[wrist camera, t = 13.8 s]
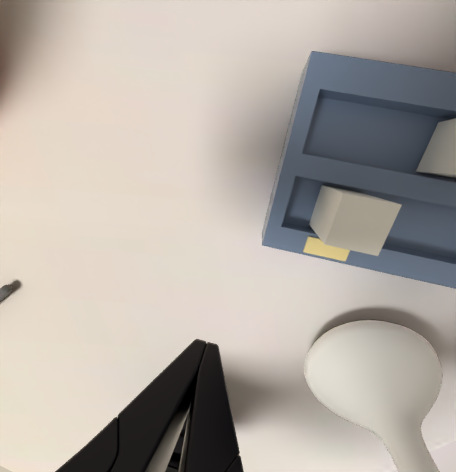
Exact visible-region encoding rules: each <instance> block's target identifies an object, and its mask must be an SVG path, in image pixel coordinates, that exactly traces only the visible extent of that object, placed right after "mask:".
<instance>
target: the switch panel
mask: <svg viewBox="0 0 456 472" xmlns="http://www.w3.org/2000/svg"><path fill="white" fill-rule="evenodd" d="M455 118H456V73H454V72H448V71H441V70H434V69H428V68H421V67H415V66H408V65H401V64H395V63H388V62H382V61H375V60H368V59H362V58H355V57H349V56H342V55H335V54H329V53H322V52H316V51H312V52H311V54H310V56H309V58H308V61H307V63H306V65H305V67H304V69H303V72H302V75H301V79H300V83H299V87H298V91H297V95H296V99H295V103H294V107H293V111H292V115H291V119H290V123H289V127H288V131H287V135H286V139H285V143H284V147H283V151H282V155H281V159H280V163H279V167H278V171H277V175H276V179H275V183H274V187H273V191H272V195H271V199H270V203H269V207H268V211H267V215H266V219H265V223H264V227H263V231H262V245H263V246H268V247H272V248H277V249H281V250H285V251H290V252H294V253H299V254H303V255H308V256H312V257H317V258H321V259H326V260H330V261H335V262H339V263H344V264H348V265H353V266H357V267H362V268H366V269H370V270H375V271H379V272H384V273H388V274H393V275H397V276H402V277H406V278H411V279H415V280H420V281H424V282H429V283H433V284H438V285H442V286H446V287H451V288H455V289H456V179H452V178H447V177H442V176H436V175H431V174H426V173H420V172H416V170H417V168H418V165H419V163H420V161H421V159H422V157H423V155H424V153H425V150H426V148H427V146H428V144H429V142H430V140H431V137H432V135H433V133H434V131H435V129H436V127H437V124H438V122H442V121H446V120H451V119H455ZM322 185H324V186H329V187H334V188H340V189H345V190H350V191H355V192H360V193H365V194H368V195H371V196H375V197H378V198H381V199H385V200H388V201H391V202H394V203H398V204H401V205H402V206H401V208H400V210H399V212H398V214H397V217H396V219H395V221H394V223H393V225H392V227H391V229H390V232H389V234H388V236H387V238H386V240H385V242H384V244H383V247H382V249H381V251H380V253H379V255H378V256H375V255H370V254H366V253H361V252H356V251H352V250H347V249H343V248H338V247H334V246H329V245H325V244H324V243H323V242H322V240H321V239H320V238H319V237H318V235H317V234H316V233H315V231H314V230H313V229H312V227H311V226H310V225H309V223H310V220H311V217H312V214H313V210H314V207H315V204H316V201H317V198H318V195H319V192H320V189H321V186H322Z"/></svg>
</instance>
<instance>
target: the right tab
mask: <svg viewBox="0 0 456 472" xmlns="http://www.w3.org/2000/svg"><path fill="white" fill-rule="evenodd" d="M416 172H420V173H426V174H431V175H436V176H442V177H447V178H452V179H456V118H455V119H451V120H446V121H442V122H438V124H437V127H436V129H435V131H434V133H433V135H432V137H431V140H430V142H429V144H428V146H427V148H426V150H425V153H424V155H423V157H422V159H421V161H420V163H419V165H418V168H417V170H416Z"/></svg>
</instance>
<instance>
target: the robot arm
mask: <svg viewBox="0 0 456 472" xmlns="http://www.w3.org/2000/svg"><path fill="white" fill-rule="evenodd" d="M239 453H240V452H239V447H238V442H237V437H236V432H235V427H234V422H233V417H232V412H231V407H230V402H229V397H228V392H227V387H226V382H225V377H224V372H223V367H222V362H221V357H220V352H219V347H218V345H217V344H214V343H210V342H208V343H206V341H203V340H199V339H196V340H194V341H193V342H192V343H191V344H190V345H189V346H188V347H187V348H186V349H185V350H184V351H183V352H182V353H181V354H180V355H179V356H178V357H177V358H176V359H175V360H174V361H173V362H172V363H171V364H170V365H169V366H168V367H167V368H166V369H165V370H163V371H162V372H161V373H160V374H159V375H158V376H157V377H156V378H155V379H154V380H153V381H152V382H151V383H150V384H149V385H148V386H147V387H146V388H145V389H144V390H143V391H142V392H141V393H140V394H139V395H138V396H137V397H136V398H135V399H134V400H133V401H132V402H131V403H130V404H129V405H128V406H127V407H126V408H125V409H123V410H122V411H121V412H120V413H119V414H118V418H117V417H115V418H114V419H113V420H112V421H111V422H110V423H109V424H108V425H107V426H106V427H105V428H104V429H103V430H102V431H101V432H100V433H98V434H97V435H96V436H95V437H94V438H93V439H92V440H91V441H90V442H89V443H88V444H87V445H86V446H84V447H83V448H82V449H81V450H80V451H79V452H78V453H76V454H75V455H74V456H73V457H72V458H71V459H69V460H68V461H67V462H66V463H65V464H64V465H62V466H61V467H60V468H59V469H58V470H57V471H55V472H244V471H243V466H242V461H241V457H240V456H239Z"/></svg>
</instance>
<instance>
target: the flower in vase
mask: <svg viewBox="0 0 456 472" xmlns="http://www.w3.org/2000/svg"><path fill="white" fill-rule="evenodd" d="M304 375H305V379H306V382H307V384H308V386H309V388H310V389H311V391H312V392H313V394H314V395H315V397H316V398H317V399H318V400H319V401H320V403H321V404H323V405H324V406H325V407H326V408H328V409H329V410H331V411H332V412H334V413H335V414H337V415H338V416H340V417H342V418H344V419H346V420H348V421H350V422H352V423H354V424H356V425H359V426H361V427H363V428H366V429H368V430H370V431H372V432H373V433H374V434H376V435H377V436H378V437H379V438H380V439H381V441H382V442H383V443H384V445H385V446H386V448H387V450H388V451H389V453H390V455H391V457H392V459H393V461H394V463H395V465H396V467H397V469H398V471H399V472H440V471H439V470H438V468H437V467H436V465H435V463H434V461H433V459H432V457H431V455H430V453H429V451H428V450H427V447H426V445H425V442H424V440H423V437H422V433H421V424H422V421H423V419H424V418H425V416H426V415H427V413H428V412H429V411H430V409H431V407H432V406H433V404H434V402H435V401H436V399H437V397H438V394H439V390H440V387H441V383H442V368H441V365H440V362H439V359H438V356H437V354H436V352H435V350H434V348H433V347H432V346H431V344H430V343H429V342H428V341H427V340H426V339H425V338H424V337H422V336H421V335H420V334H418V333H417V332H415V331H413V330H411V329H409V328H406V327H404V326H401V325H397V324H393V323H389V322H385V321H378V320H361V321H354V322H349V323H346V324H342V325H340V326H337V327H335V328H333V329H331V330H329V331H327V332H326V333H325V334H323V335H322V336H321V337H320V338H318V339H317V341H316V342H315V343H314V344H313V346H312V347H311V349H310V350H309V352H308V354H307V356H306V359H305V363H304Z"/></svg>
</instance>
